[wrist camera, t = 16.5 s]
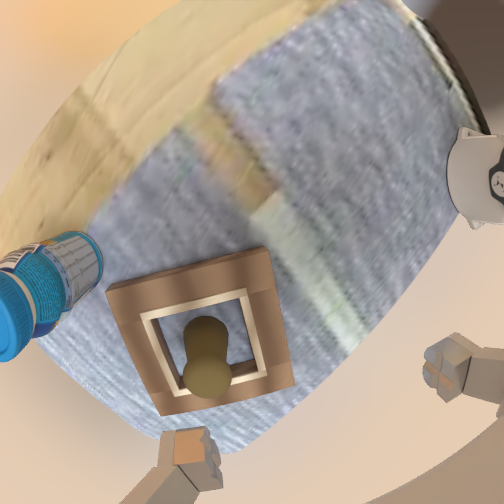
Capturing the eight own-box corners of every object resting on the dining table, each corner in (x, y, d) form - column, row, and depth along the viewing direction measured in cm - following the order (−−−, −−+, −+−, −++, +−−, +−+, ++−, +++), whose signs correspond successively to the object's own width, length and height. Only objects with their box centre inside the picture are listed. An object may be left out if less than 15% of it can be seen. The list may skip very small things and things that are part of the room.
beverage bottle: (116, 251, 34) (36, 314, 14) (90, 304, 34) (18, 392, 15) (65, 217, 32) (-40, 244, 12) (43, 271, 32) (-50, 330, 13)
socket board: (263, 246, 37) (269, 251, 33) (289, 374, 41) (295, 386, 38) (111, 284, 34) (104, 292, 31) (162, 403, 39) (160, 417, 36)
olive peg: (214, 361, 39) (219, 414, 28) (175, 343, 37) (168, 393, 27) (236, 328, 38) (248, 375, 28) (196, 308, 37) (194, 352, 26)
